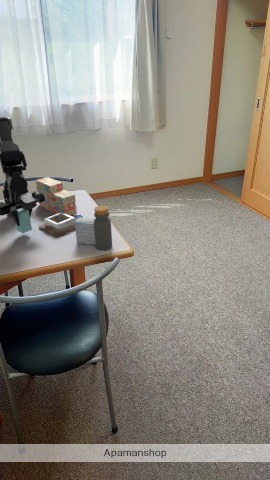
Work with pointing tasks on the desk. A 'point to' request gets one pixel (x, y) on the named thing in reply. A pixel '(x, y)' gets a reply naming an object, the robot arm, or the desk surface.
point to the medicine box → (85, 231)
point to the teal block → (23, 221)
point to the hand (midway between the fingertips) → (23, 223)
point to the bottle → (102, 228)
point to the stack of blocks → (56, 196)
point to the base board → (57, 231)
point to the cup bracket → (66, 222)
